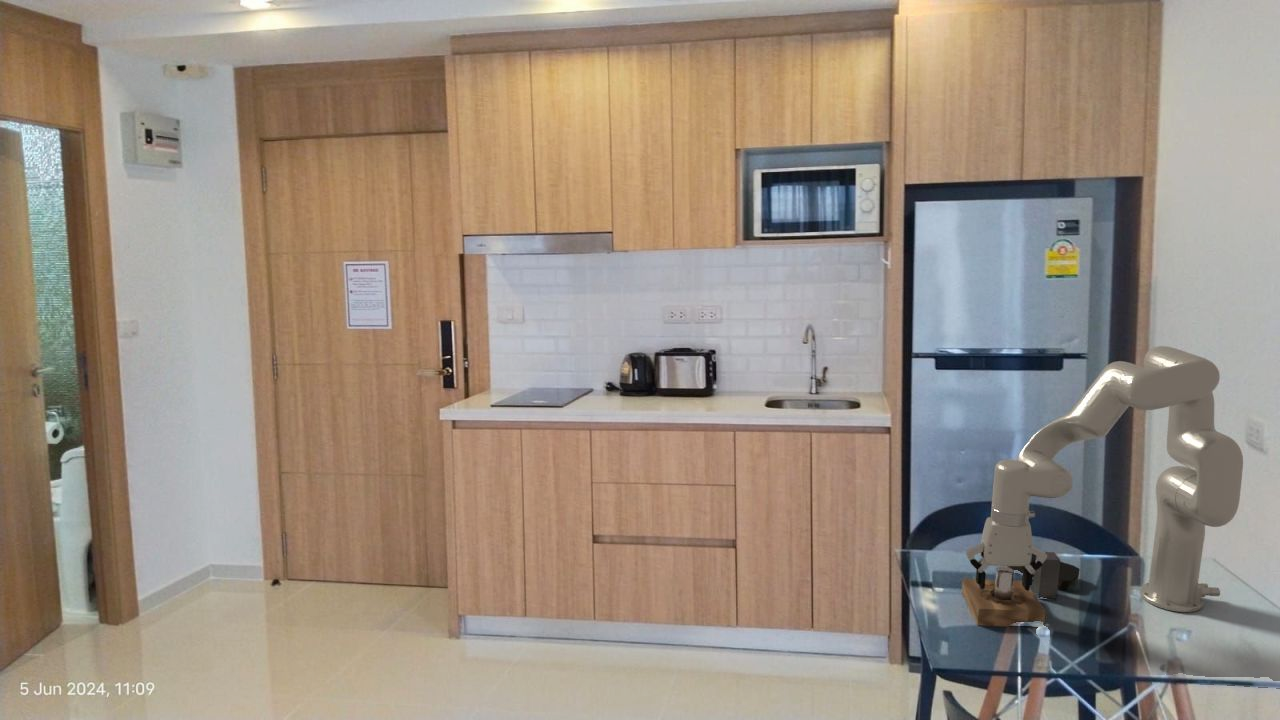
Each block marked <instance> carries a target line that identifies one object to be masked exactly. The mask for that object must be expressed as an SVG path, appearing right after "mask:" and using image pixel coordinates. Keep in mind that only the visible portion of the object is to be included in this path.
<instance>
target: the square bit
mask: <svg viewBox="0 0 1280 720" xmlns="http://www.w3.org/2000/svg"><path fill="white" fill-rule="evenodd" d="M1044 552H1045V553H1046V555H1047V558H1046V560H1045V561H1044V563H1042V566H1041V567H1040V568H1039V569H1037V570H1036V571H1035V574H1034V580H1033V582H1032V590H1033V589H1034V591H1035V593H1036V594H1037V596H1038V598H1040V597H1043V598H1047V599H1050V600H1049V601H1052V600H1051V599H1056V600H1057V597H1058V589H1057V588H1058V579H1059V569H1060V561H1061V559H1060V558H1059V557H1058V555H1057V554H1056V552H1055V551H1054V552H1052V551H1044ZM1037 557H1038V556H1036V559H1037ZM1037 596H1036V597H1037ZM1038 598H1037V599H1038Z"/></svg>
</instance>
